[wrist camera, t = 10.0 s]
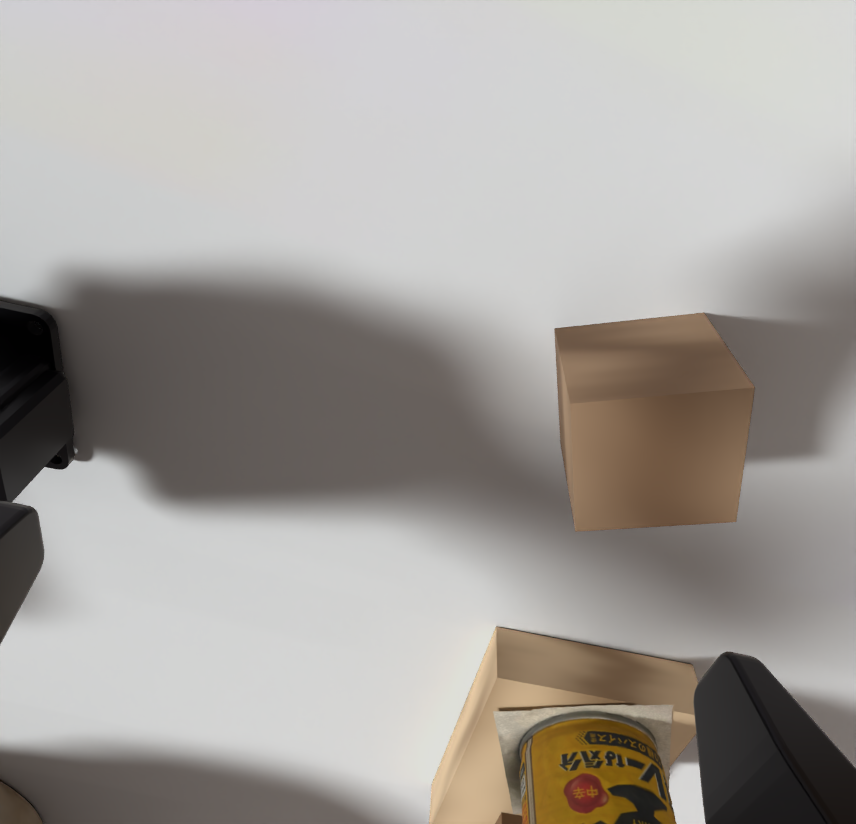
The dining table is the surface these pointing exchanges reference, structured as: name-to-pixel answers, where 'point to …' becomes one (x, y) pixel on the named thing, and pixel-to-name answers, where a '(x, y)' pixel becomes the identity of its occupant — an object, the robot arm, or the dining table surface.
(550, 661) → the foundation
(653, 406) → the block
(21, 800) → the plant pot
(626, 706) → the condiment
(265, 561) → the dining table surface
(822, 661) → the dining table surface
